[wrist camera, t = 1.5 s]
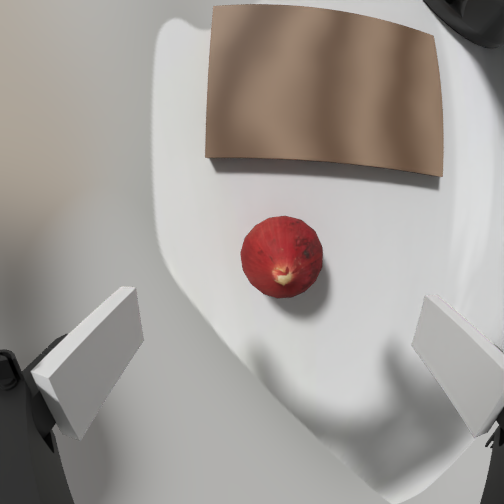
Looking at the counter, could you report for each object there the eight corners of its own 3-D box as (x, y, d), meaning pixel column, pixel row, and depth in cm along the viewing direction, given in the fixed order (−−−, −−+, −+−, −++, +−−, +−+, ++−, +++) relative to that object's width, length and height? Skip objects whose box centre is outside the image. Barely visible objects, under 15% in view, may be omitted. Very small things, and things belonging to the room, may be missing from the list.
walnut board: (426, 40, 18) (433, 35, 16) (434, 176, 22) (442, 176, 20) (216, 13, 19) (213, 6, 17) (209, 158, 23) (205, 157, 21)
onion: (295, 197, 23) (309, 210, 15) (325, 257, 24) (348, 296, 17) (233, 229, 24) (216, 257, 16) (265, 287, 25) (263, 336, 18)
